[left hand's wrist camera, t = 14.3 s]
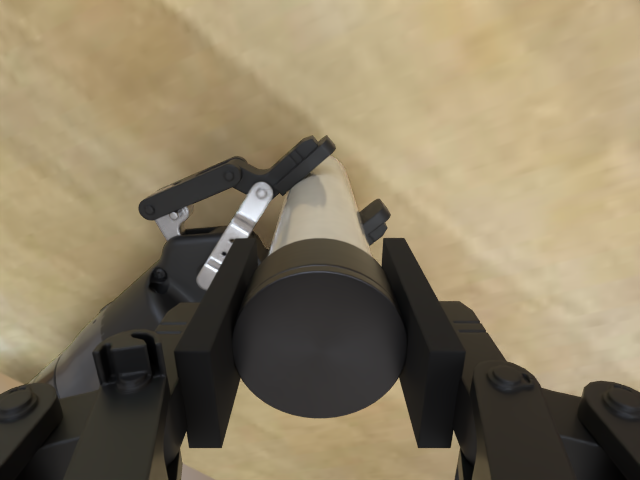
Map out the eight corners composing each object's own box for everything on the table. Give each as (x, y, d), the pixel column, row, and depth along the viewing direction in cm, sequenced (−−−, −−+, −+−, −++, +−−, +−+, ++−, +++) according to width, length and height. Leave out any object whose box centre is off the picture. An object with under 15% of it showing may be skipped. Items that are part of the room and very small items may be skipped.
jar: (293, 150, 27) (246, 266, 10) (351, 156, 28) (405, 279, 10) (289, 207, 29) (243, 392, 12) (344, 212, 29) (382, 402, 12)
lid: (215, 287, 12) (193, 330, 10) (342, 207, 11) (347, 236, 9) (301, 386, 14) (297, 442, 12) (419, 322, 13) (439, 370, 11)
